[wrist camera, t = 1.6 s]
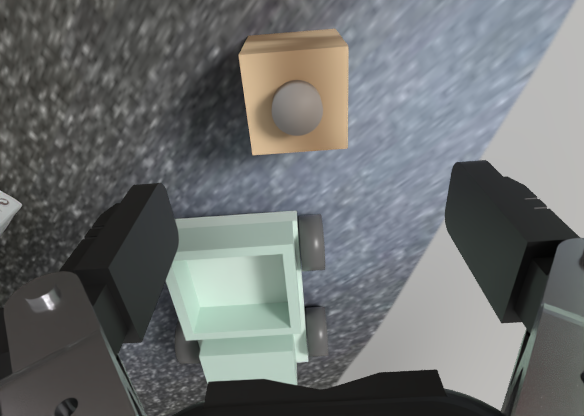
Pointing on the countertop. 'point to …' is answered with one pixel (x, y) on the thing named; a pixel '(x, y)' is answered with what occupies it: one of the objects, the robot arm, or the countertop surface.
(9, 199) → the skincare box
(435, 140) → the countertop surface
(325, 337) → the chassis
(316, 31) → the wooden block with knob
